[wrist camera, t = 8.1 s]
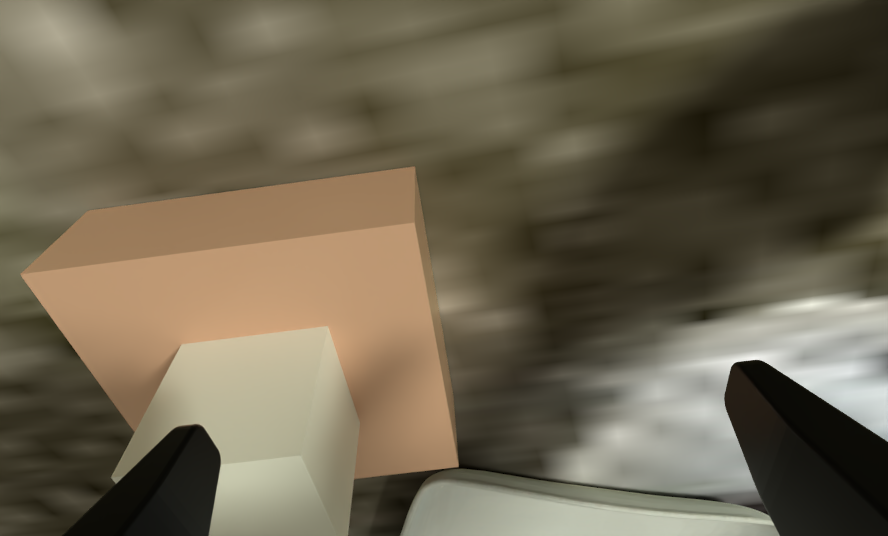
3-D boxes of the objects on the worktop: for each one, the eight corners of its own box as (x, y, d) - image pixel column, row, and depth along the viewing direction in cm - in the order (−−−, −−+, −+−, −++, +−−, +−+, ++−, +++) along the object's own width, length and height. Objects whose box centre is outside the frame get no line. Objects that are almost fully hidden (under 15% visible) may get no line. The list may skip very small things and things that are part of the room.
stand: (414, 166, 19) (414, 222, 15) (453, 394, 26) (458, 466, 22) (87, 210, 19) (20, 274, 16) (211, 423, 26) (182, 498, 23)
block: (327, 325, 18) (300, 455, 13) (360, 422, 20) (346, 553, 16) (181, 344, 18) (110, 477, 14) (233, 437, 21) (188, 571, 16)
